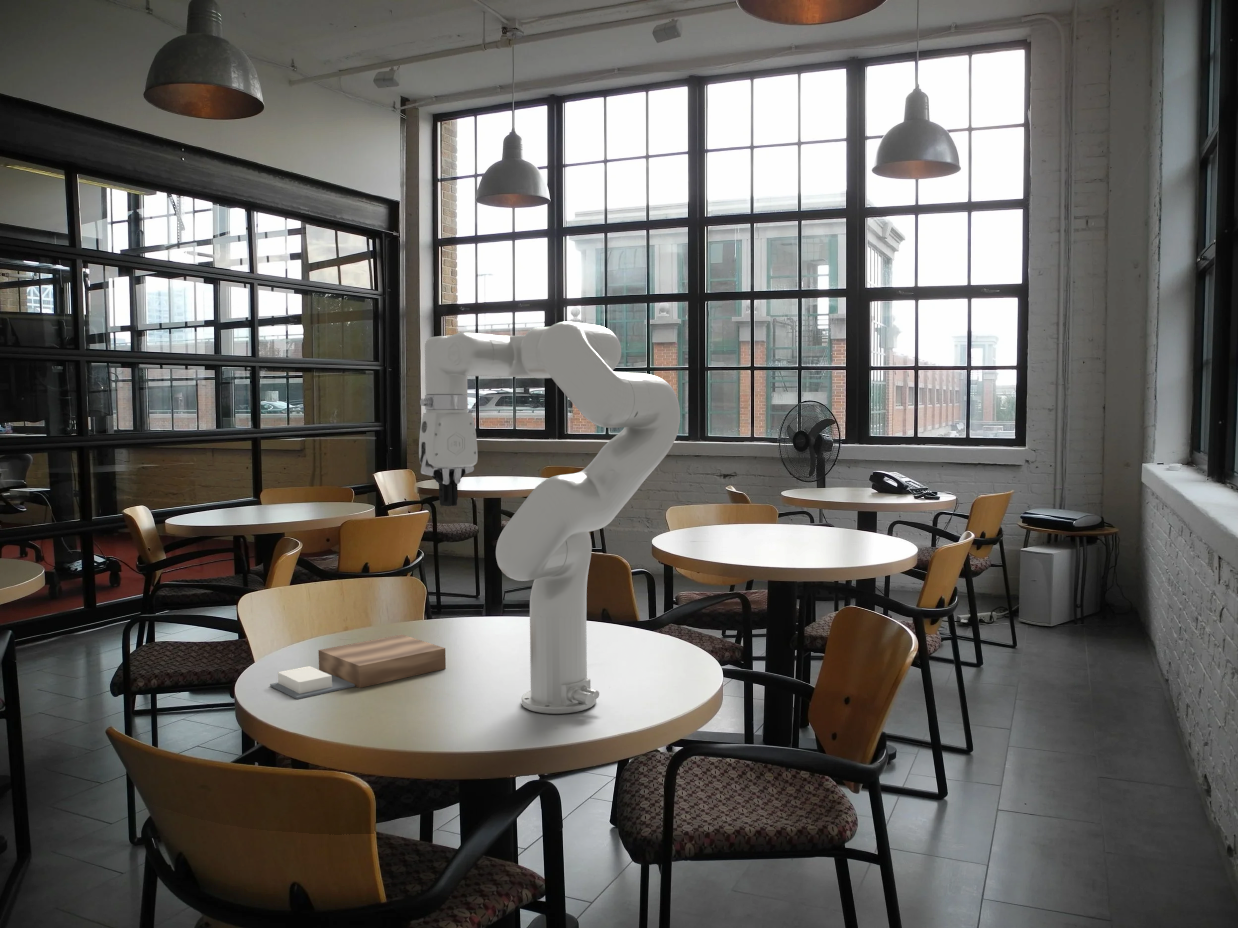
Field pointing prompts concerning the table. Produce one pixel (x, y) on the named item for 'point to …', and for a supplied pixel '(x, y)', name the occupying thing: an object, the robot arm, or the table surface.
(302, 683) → the cream white rectangular block
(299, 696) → the mat
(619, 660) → the table surface
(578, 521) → the robot arm
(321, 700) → the table surface
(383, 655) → the board
